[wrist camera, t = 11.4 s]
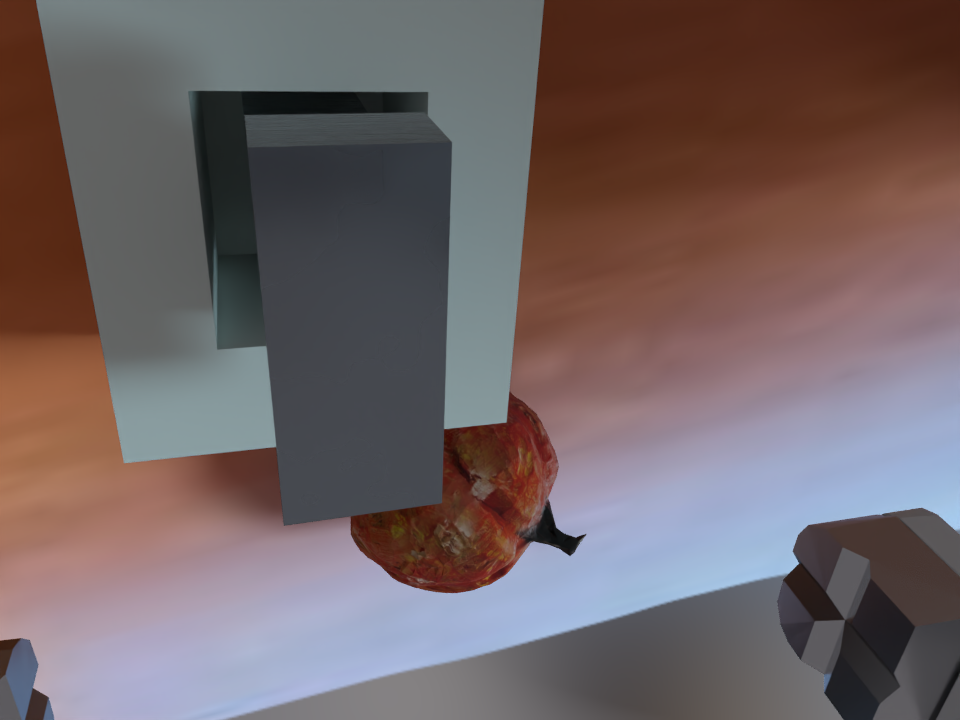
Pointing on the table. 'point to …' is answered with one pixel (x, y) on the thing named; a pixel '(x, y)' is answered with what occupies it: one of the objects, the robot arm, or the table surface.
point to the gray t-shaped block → (351, 298)
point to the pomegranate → (473, 509)
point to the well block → (227, 195)
